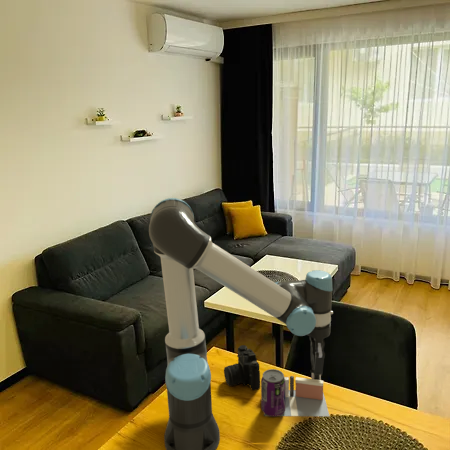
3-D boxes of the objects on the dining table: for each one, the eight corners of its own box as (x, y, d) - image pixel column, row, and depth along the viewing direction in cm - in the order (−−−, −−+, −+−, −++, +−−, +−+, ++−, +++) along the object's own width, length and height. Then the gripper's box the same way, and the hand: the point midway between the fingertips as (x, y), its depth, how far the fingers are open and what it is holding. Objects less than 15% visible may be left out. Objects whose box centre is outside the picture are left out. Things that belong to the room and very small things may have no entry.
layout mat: (264, 416, 128) (264, 415, 128) (262, 390, 139) (262, 389, 139) (329, 417, 127) (329, 416, 127) (322, 390, 138) (322, 390, 138)
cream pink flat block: (295, 396, 135) (295, 379, 134) (295, 393, 137) (296, 376, 135) (322, 400, 133) (323, 383, 131) (322, 397, 134) (323, 380, 133)
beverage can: (284, 419, 126) (284, 383, 123) (260, 417, 127) (259, 381, 124) (286, 403, 132) (286, 369, 129) (263, 401, 134) (262, 367, 131)
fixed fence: (264, 396, 136) (264, 378, 134) (264, 393, 138) (264, 375, 136) (293, 396, 136) (294, 378, 134) (293, 393, 137) (293, 375, 135)
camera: (219, 371, 150) (218, 346, 148) (248, 365, 153) (248, 340, 150) (231, 396, 137) (230, 368, 135) (263, 389, 140) (262, 362, 138)
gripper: (334, 332, 124) (331, 401, 131) (326, 311, 136) (324, 375, 143) (308, 332, 124) (306, 401, 131) (302, 311, 136) (301, 375, 143)
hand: (315, 388), depth 137 cm, fingers closed
